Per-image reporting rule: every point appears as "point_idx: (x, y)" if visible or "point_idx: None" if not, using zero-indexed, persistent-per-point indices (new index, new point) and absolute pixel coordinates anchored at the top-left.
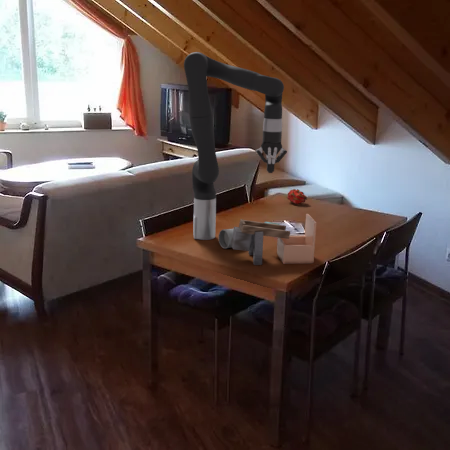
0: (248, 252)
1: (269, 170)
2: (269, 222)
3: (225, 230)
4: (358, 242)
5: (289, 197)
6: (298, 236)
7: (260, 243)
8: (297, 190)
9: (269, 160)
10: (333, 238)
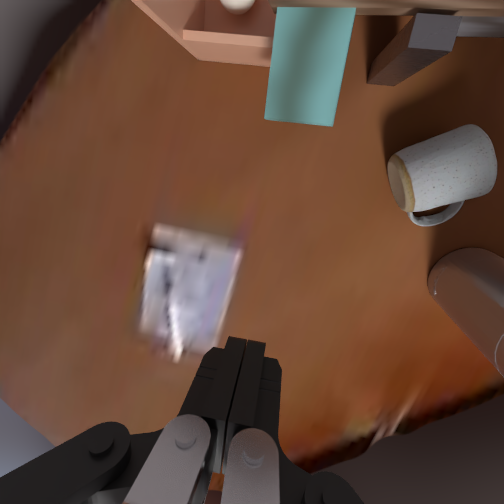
0: (395, 84)
1: (260, 358)
2: (311, 116)
3: (495, 155)
4: (19, 138)
5: None
6: (209, 35)
7: None
8: None
9: (247, 494)
10: (82, 188)
